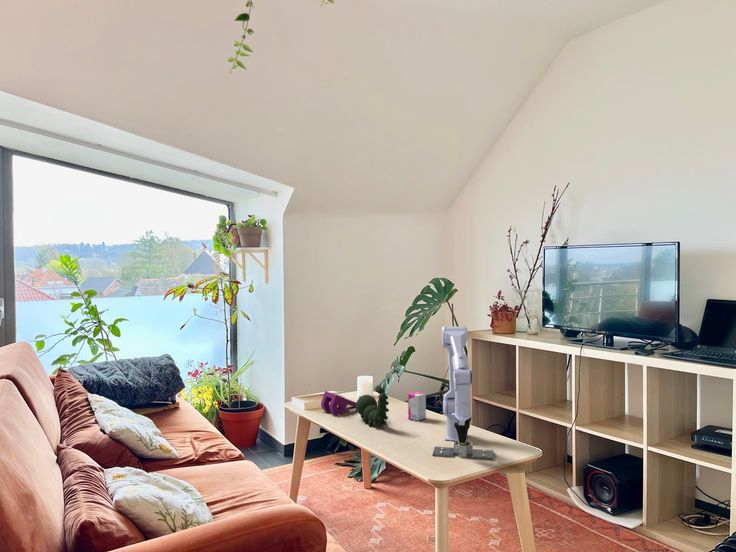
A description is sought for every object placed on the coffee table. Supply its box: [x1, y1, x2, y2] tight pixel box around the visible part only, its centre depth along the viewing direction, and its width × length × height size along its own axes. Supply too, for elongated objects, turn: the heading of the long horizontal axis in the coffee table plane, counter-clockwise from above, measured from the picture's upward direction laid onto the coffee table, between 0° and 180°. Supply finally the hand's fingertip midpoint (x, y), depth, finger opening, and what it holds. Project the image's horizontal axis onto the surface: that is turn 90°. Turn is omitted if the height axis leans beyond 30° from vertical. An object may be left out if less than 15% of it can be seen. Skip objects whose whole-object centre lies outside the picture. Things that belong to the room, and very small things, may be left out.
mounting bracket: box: [320, 390, 357, 416], centre depth 266 cm, size 9×8×18 cm
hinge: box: [432, 440, 495, 461], centre depth 206 cm, size 21×8×4 cm, turn 77°
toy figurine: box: [355, 385, 390, 427], centre depth 246 cm, size 9×19×25 cm
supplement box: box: [407, 391, 427, 422], centre depth 251 cm, size 6×6×12 cm
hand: (463, 439), depth 206 cm, fingers open, 7 cm apart
